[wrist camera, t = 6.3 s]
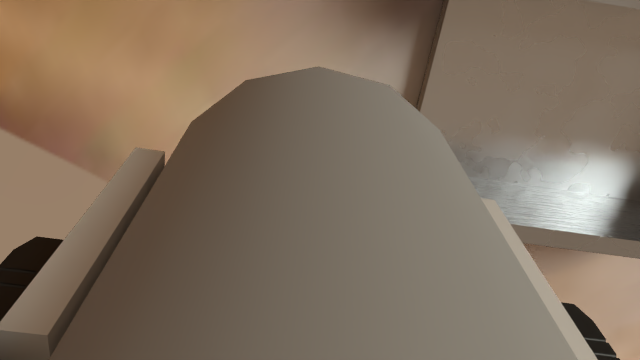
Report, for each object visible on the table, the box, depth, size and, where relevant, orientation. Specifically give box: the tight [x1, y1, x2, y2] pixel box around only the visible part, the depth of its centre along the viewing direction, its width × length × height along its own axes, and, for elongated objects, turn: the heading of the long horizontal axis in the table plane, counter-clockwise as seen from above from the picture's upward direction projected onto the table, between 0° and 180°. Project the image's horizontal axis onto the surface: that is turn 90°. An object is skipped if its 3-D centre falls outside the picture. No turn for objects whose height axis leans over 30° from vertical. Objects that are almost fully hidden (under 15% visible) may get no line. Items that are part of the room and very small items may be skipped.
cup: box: [49, 67, 578, 360], centre depth 10 cm, size 8×8×10 cm
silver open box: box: [416, 0, 640, 259], centre depth 25 cm, size 18×12×6 cm
